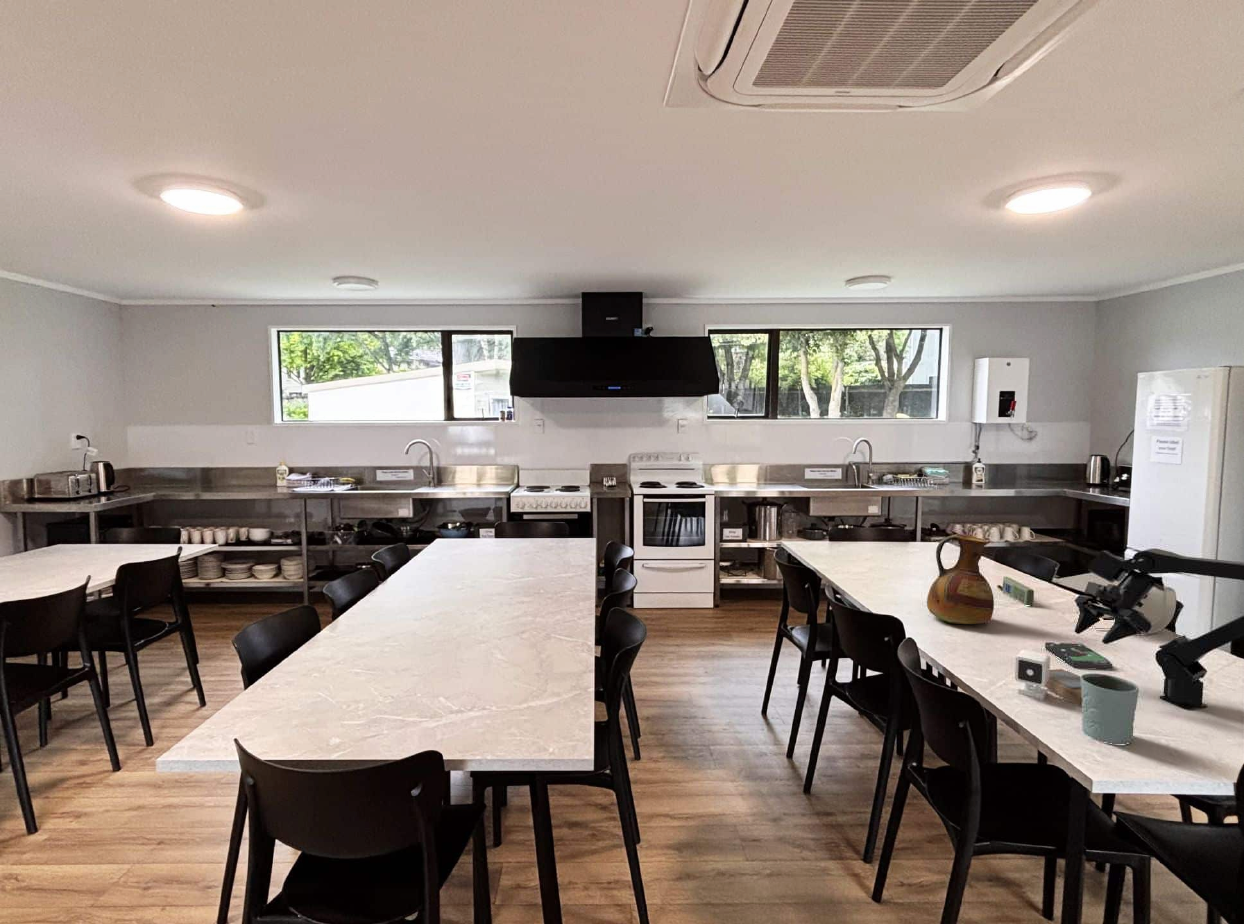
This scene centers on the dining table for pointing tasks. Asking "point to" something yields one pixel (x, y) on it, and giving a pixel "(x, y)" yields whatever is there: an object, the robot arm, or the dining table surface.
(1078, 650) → the disk drive
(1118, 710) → the green plant pot
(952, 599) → the ceramic pitcher
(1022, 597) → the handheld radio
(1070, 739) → the dining table surface
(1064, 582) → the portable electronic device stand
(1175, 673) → the robot arm
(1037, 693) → the security camera
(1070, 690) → the walnut stand
